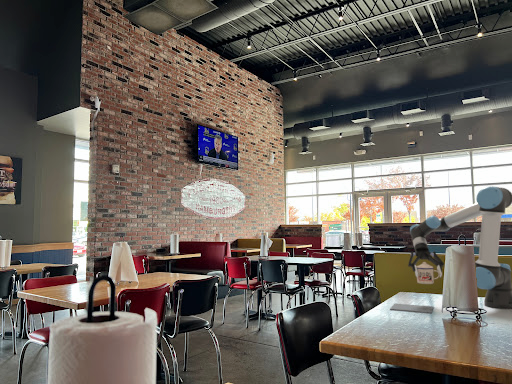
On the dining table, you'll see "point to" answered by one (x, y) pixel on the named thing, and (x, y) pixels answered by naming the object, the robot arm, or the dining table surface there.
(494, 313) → the dining table surface
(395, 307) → the mat
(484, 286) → the robot arm
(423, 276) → the teacup with lid
